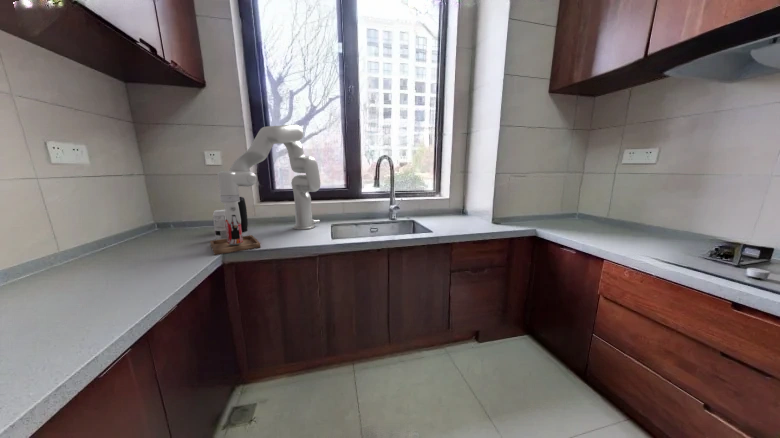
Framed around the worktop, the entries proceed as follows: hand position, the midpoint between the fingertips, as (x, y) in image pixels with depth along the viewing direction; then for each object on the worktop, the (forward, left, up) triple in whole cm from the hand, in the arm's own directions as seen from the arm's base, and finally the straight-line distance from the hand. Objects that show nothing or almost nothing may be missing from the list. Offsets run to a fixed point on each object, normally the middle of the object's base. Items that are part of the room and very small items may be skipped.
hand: (234, 237), depth 126 cm
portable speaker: (-7, -32, -5) cm, 33 cm away
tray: (0, 0, -5) cm, 5 cm away
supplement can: (+2, -17, -5) cm, 18 cm away
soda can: (0, 0, -3) cm, 3 cm away
